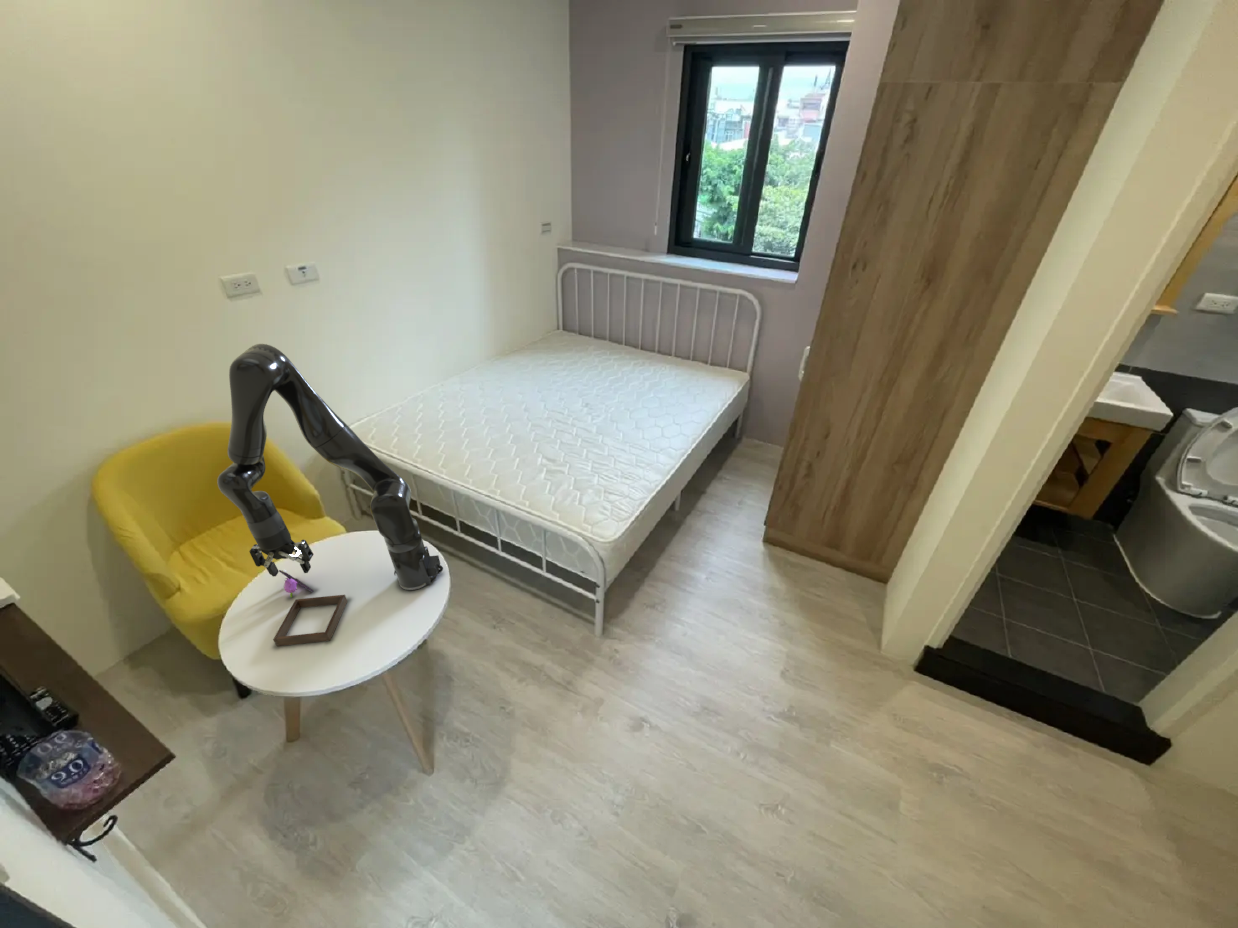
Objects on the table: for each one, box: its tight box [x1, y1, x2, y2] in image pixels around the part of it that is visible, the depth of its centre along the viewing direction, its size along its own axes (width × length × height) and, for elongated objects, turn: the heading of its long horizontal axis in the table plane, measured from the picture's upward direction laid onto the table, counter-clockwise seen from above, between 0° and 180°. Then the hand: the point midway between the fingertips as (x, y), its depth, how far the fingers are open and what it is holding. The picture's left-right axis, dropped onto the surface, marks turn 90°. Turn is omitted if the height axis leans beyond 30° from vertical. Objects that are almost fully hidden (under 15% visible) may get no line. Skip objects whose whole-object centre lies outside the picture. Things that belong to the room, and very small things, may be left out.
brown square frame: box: [272, 594, 348, 647], centre depth 135 cm, size 13×14×3 cm
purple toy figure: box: [278, 569, 314, 598], centre depth 144 cm, size 7×5×9 cm
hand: (291, 572), depth 143 cm, fingers open, 8 cm apart
